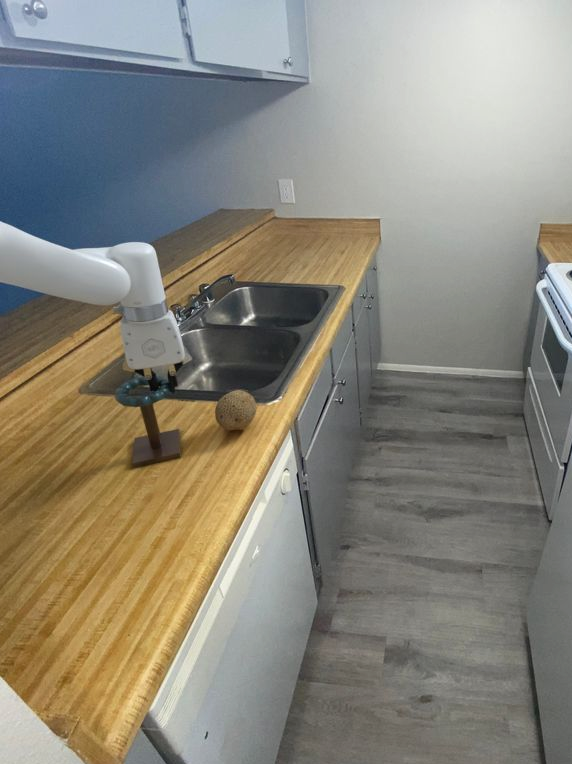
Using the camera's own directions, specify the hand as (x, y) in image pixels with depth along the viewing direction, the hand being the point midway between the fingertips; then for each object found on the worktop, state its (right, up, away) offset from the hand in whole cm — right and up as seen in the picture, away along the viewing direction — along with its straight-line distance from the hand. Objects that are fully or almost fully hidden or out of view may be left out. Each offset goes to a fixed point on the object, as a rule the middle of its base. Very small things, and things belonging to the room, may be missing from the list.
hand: (165, 390), depth 98 cm
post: (-4, -13, +5) cm, 15 cm away
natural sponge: (+11, -10, +12) cm, 19 cm away
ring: (-3, 0, -2) cm, 4 cm away
